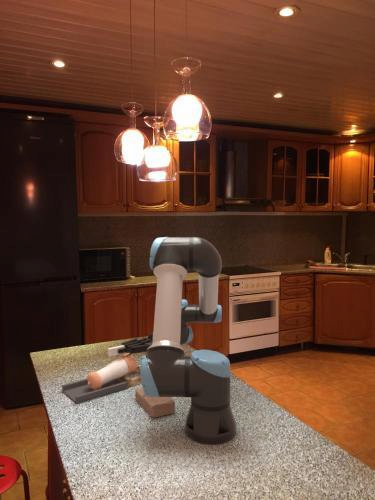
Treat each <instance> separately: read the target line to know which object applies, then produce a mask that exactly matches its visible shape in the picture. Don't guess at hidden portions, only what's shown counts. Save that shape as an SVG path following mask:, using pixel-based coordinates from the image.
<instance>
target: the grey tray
mask: <svg viewBox="0 0 375 500" xmlns="http://www.w3.org/2000/svg"><path fill="white" fill-rule="evenodd" d="M128 388H129V387H128V382H122V383H121V382H119V381H118V380H116V379H114V380H112V381H110V382H108V383H106V384H104V385H102V387H101V389H98V390H93V389H92V388H91V387H90V386H89V385H88V379H87V378H83V379H80V380H77V381H73V382H69V383H65V384H62V385H61V389H62V390H61V392H62V393H63V394H65V395H66V396H67V397H68V398H69V399H70V400H71V401H73V402H74V403H75V404H76V405H78V404H79V405H80V404H82V403H85V402H90V401H92V400H96V399H98V398H99V399H100V398H103V397H105V396H108V395H111V394H115V393H118V392H121V391H124V390H128Z"/></svg>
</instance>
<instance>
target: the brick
mask: <svg viewBox="0 0 375 500" xmlns="http://www.w3.org/2000/svg"><path fill="white" fill-rule="evenodd" d="M134 391H135V393H134V396H135V400H136V402H137V403H139V405H140V406H141V407H142V408H143V409H144V410H145V412H146V413H147V414H148V415H149V416H151V417H152V418H157V417H158V418H160V417H163V416H168V415H171V414H174V413H175V411H176V406H175V405H176V402H175V399H174V397H160V398H159V397H153V396H147V395H146V394H145V393H144V391H143V388H142V386H140V387H136V388H135V390H134Z"/></svg>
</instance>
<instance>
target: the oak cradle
mask: <svg viewBox="0 0 375 500" xmlns="http://www.w3.org/2000/svg"><path fill="white" fill-rule="evenodd" d="M137 373H141V372H140V365H137V368H136V370H134V371H132V372H131V373H129V374H125V375H123V376H122V377H120V378H117V379H116V380H118V381H119V382H121V383H122V382H128V388H131V387H134V386H138V385H142V383H141V375H139V376H135V377H133V378H130V377H129V376H132V375H134V374H137Z"/></svg>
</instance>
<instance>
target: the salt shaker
mask: <svg viewBox="0 0 375 500" xmlns="http://www.w3.org/2000/svg"><path fill="white" fill-rule="evenodd" d="M137 366H138V365H137V362H136V359H135V357H134V356H133V354H130V353H126V352H125V353H123V354H121V355H120V356H119V357H118V358H116V359H114V360H112V361H111V362H110V363H108V364H106V365H105V366H104V367H101V368H100V369H99V370H97V371H90V372H89V373H88V375H87V378H86V379H88V385H89V386H90V387H91V388H92V389H93V390H98V389H101V387H102V385H104V384H106V383H108V382H110V381H112V380H114V379H117V378H120V377H122V376H123V375H125V374H129V373H131V372H132V371H134V370H136V368H137Z"/></svg>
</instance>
